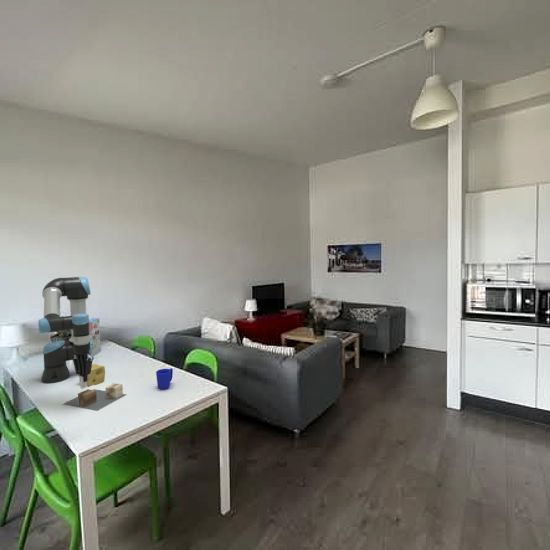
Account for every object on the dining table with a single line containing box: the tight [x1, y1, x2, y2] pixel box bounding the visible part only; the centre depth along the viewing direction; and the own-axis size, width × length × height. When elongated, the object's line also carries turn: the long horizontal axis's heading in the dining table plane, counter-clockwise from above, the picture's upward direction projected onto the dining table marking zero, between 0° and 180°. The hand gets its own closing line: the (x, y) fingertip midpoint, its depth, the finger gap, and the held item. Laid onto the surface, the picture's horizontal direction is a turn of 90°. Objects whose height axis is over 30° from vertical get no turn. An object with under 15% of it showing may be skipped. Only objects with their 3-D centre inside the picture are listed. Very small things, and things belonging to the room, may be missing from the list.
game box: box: [89, 317, 102, 357], centre depth 256 cm, size 21×6×27 cm, turn 6°
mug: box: [155, 367, 174, 390], centre depth 194 cm, size 8×12×10 cm
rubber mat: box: [62, 388, 128, 412], centre depth 177 cm, size 24×20×1 cm
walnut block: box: [77, 388, 97, 407], centre depth 172 cm, size 6×6×6 cm
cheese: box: [87, 363, 106, 387], centre depth 201 cm, size 10×11×10 cm
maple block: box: [104, 382, 124, 399], centre depth 180 cm, size 6×6×6 cm
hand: (83, 387), depth 172 cm, fingers closed
